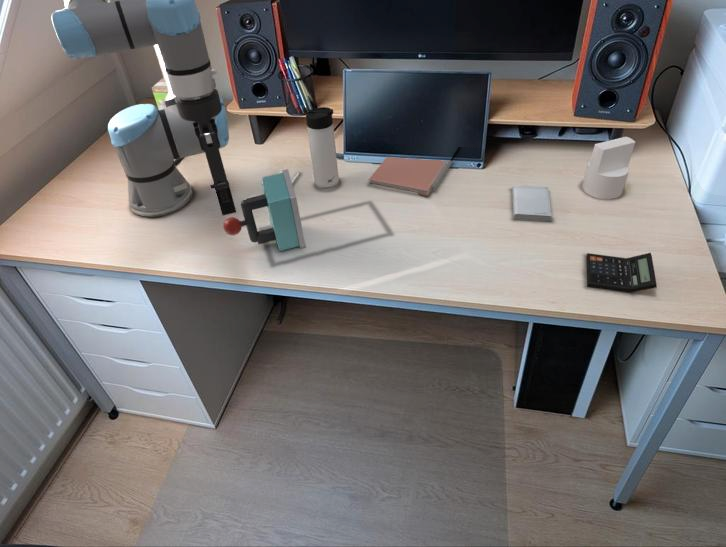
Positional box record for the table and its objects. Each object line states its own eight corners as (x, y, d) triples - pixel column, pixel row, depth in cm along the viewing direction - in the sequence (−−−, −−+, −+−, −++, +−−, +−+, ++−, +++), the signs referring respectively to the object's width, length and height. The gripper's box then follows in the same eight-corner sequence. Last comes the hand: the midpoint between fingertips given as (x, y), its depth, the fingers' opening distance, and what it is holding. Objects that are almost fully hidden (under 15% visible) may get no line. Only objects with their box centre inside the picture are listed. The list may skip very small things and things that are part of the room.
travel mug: (337, 192, 130) (329, 116, 117) (312, 190, 132) (301, 115, 118) (343, 179, 135) (335, 105, 122) (318, 177, 136) (309, 104, 123)
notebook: (431, 197, 126) (432, 190, 125) (368, 185, 132) (368, 178, 130) (464, 146, 144) (464, 140, 143) (407, 137, 150) (407, 131, 148)
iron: (282, 159, 109) (207, 176, 105) (293, 179, 102) (213, 199, 99) (295, 224, 120) (228, 242, 117) (305, 247, 113) (234, 266, 110)
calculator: (586, 256, 106) (589, 244, 104) (648, 264, 104) (652, 252, 102) (587, 286, 100) (590, 275, 98) (653, 296, 97) (658, 284, 95)
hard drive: (552, 216, 115) (548, 185, 124) (514, 213, 116) (512, 184, 125) (550, 222, 116) (547, 191, 125) (513, 219, 117) (512, 189, 126)
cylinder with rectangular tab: (598, 202, 120) (611, 156, 112) (574, 183, 127) (585, 138, 119) (630, 194, 122) (646, 147, 114) (605, 175, 129) (618, 130, 121)
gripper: (227, 116, 82) (253, 224, 96) (208, 64, 100) (233, 162, 114) (179, 126, 80) (213, 234, 95) (168, 71, 98) (198, 169, 112)
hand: (224, 195), depth 104 cm, fingers open, 13 cm apart
